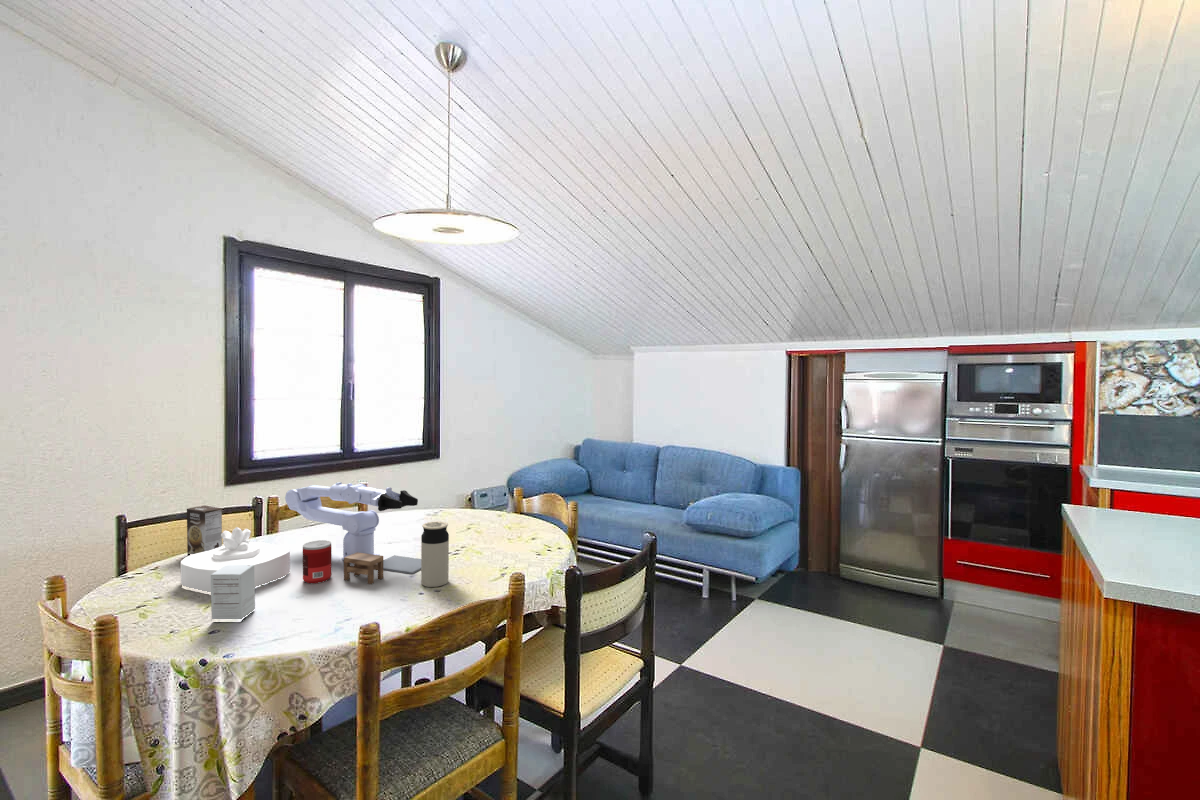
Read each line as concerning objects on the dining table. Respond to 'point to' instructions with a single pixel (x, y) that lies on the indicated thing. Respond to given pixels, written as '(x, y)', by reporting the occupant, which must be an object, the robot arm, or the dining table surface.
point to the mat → (402, 564)
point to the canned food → (317, 561)
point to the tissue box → (236, 560)
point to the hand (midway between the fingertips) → (409, 503)
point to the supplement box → (232, 592)
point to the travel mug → (434, 554)
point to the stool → (363, 565)
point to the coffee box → (203, 529)
